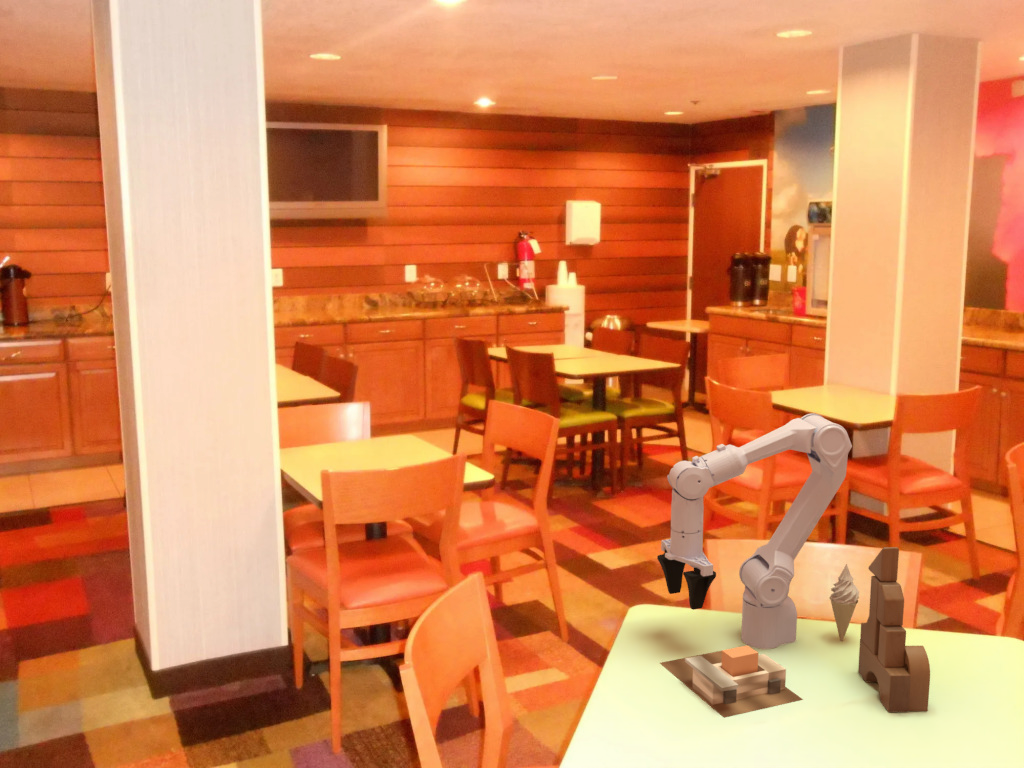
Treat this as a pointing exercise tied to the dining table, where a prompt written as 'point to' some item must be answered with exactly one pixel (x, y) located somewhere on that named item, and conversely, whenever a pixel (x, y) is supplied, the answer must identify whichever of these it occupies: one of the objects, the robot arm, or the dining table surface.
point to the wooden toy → (892, 642)
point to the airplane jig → (733, 683)
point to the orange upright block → (740, 661)
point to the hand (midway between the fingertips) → (685, 600)
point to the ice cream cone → (844, 601)
